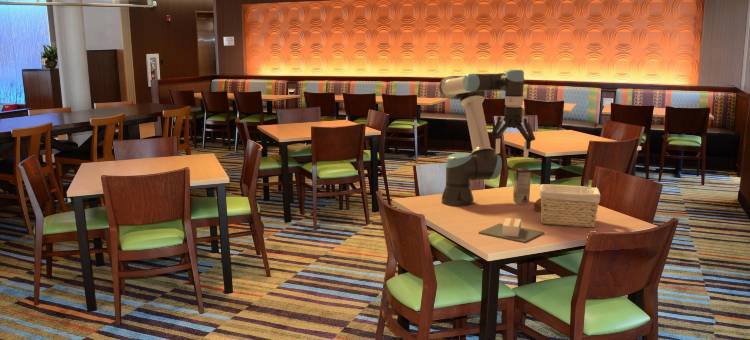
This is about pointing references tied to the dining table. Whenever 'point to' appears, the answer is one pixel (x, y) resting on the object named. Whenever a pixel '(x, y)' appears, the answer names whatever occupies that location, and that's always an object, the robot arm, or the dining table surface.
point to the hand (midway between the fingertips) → (511, 155)
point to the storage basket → (569, 205)
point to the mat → (523, 236)
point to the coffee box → (521, 186)
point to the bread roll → (538, 205)
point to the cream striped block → (511, 227)
